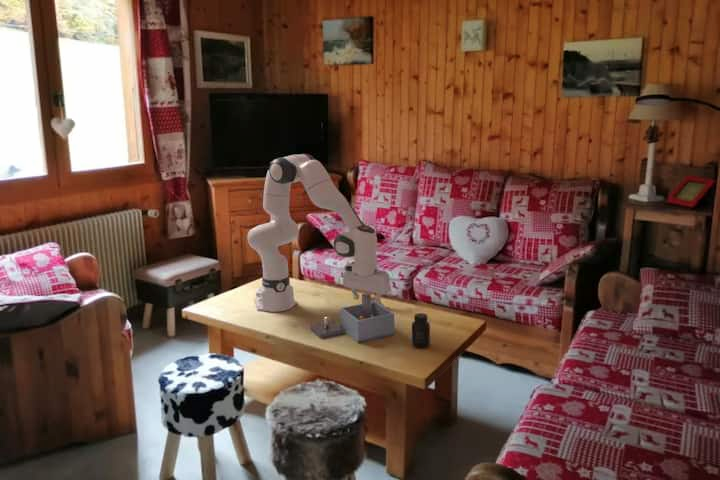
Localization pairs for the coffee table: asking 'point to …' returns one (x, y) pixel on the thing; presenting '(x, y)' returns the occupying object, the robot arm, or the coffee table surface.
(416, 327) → the supplement bottle
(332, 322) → the ball stud base
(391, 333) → the bin
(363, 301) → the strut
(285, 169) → the robot arm
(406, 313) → the coffee table surface
